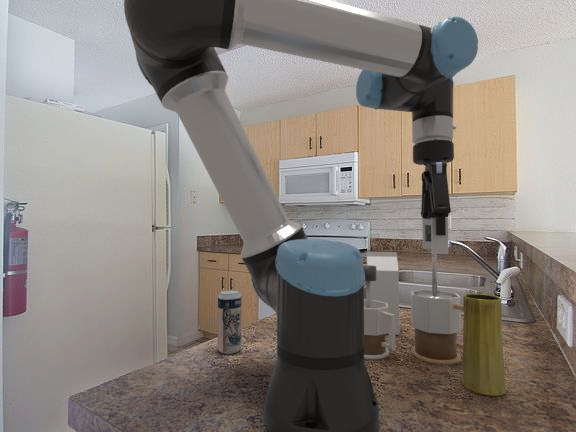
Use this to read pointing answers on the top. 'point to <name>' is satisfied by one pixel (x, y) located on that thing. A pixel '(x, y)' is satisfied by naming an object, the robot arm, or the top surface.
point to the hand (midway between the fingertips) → (434, 251)
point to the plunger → (433, 272)
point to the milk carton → (386, 282)
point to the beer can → (229, 321)
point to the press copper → (436, 327)
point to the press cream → (376, 322)
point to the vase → (483, 345)
